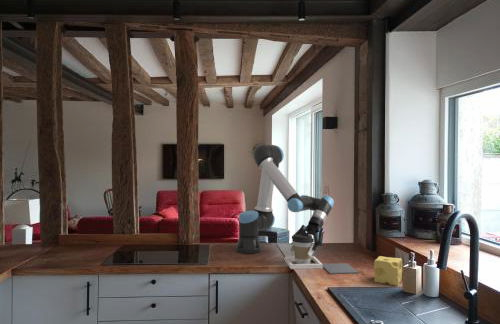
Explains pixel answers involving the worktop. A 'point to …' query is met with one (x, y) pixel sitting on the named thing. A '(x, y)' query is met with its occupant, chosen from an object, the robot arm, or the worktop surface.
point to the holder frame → (303, 266)
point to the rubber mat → (339, 268)
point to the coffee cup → (302, 248)
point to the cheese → (388, 270)
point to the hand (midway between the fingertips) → (299, 253)
